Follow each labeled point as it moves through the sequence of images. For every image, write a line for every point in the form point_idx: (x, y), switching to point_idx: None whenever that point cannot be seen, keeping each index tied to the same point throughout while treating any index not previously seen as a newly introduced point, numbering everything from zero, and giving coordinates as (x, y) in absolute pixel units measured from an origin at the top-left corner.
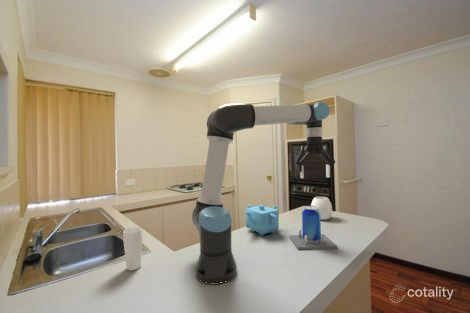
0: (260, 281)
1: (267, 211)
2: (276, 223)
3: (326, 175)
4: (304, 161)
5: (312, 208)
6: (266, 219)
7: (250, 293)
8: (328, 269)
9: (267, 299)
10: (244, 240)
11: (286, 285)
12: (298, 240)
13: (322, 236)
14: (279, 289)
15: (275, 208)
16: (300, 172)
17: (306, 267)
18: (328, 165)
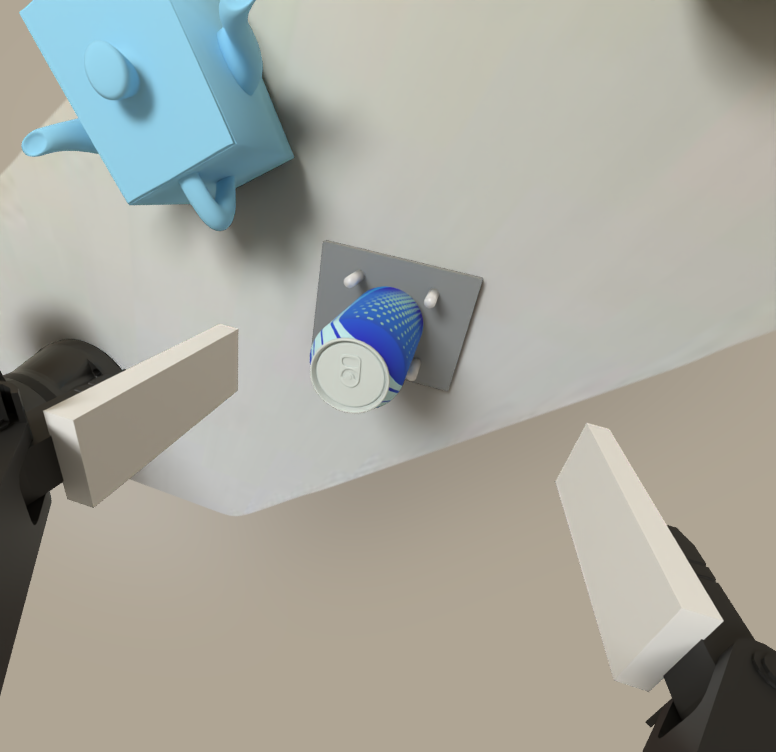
0: (182, 443)
1: (161, 159)
2: (264, 161)
3: (589, 446)
4: (26, 586)
5: (352, 387)
6: (181, 192)
7: (162, 464)
8: (340, 462)
9: (189, 486)
10: (143, 208)
11: (228, 470)
12: (337, 305)
13: (458, 301)
14: (213, 474)
15: (243, 27)
16: (166, 355)
17: (294, 437)
18: (613, 666)
